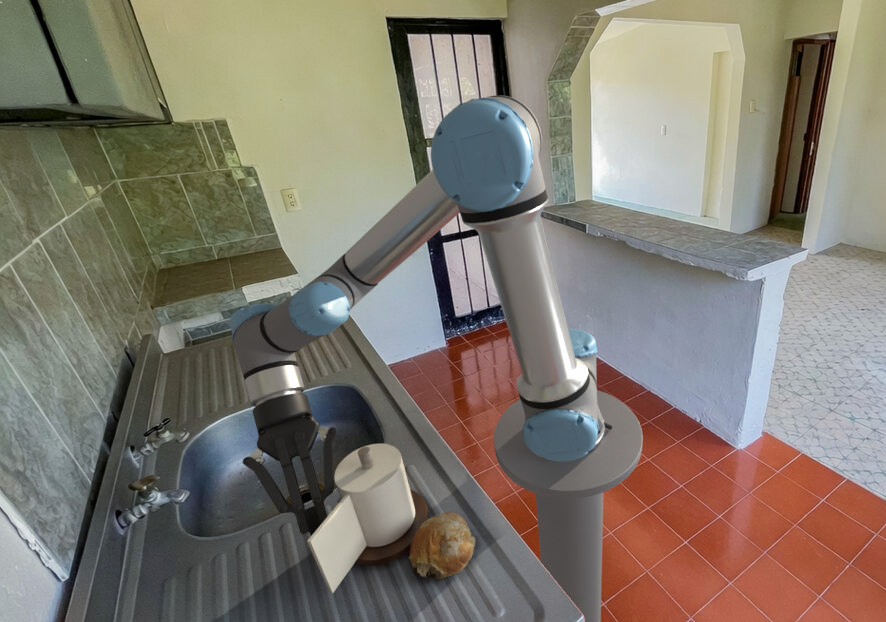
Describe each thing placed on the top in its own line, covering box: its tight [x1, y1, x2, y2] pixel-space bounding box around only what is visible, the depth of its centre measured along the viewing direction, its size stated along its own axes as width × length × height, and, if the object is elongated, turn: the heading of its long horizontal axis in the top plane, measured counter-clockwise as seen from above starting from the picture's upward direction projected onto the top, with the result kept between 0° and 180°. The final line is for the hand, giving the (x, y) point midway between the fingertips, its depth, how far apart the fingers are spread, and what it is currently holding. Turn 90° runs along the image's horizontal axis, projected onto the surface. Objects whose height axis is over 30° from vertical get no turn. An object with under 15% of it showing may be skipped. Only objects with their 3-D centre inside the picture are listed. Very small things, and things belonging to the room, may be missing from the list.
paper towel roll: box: [306, 443, 415, 594], centre depth 71 cm, size 18×10×12 cm, turn 147°
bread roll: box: [407, 511, 476, 580], centre depth 72 cm, size 10×10×8 cm
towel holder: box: [355, 446, 430, 567], centre depth 74 cm, size 14×14×18 cm
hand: (321, 551), depth 66 cm, fingers closed
